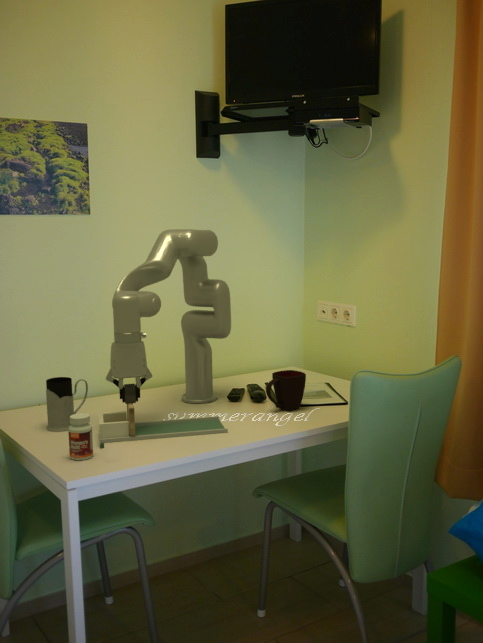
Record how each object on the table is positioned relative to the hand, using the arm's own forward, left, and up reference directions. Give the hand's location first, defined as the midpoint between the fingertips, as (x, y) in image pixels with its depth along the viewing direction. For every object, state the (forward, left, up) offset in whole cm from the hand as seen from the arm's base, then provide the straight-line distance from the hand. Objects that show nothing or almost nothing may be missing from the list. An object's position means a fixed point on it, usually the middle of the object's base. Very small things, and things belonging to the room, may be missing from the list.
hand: (130, 400), depth 190 cm
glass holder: (-17, -18, -11) cm, 28 cm away
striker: (0, 0, -9) cm, 9 cm away
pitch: (0, +9, -11) cm, 14 cm away
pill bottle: (+13, -14, -11) cm, 22 cm away
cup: (-16, +51, -11) cm, 55 cm away
